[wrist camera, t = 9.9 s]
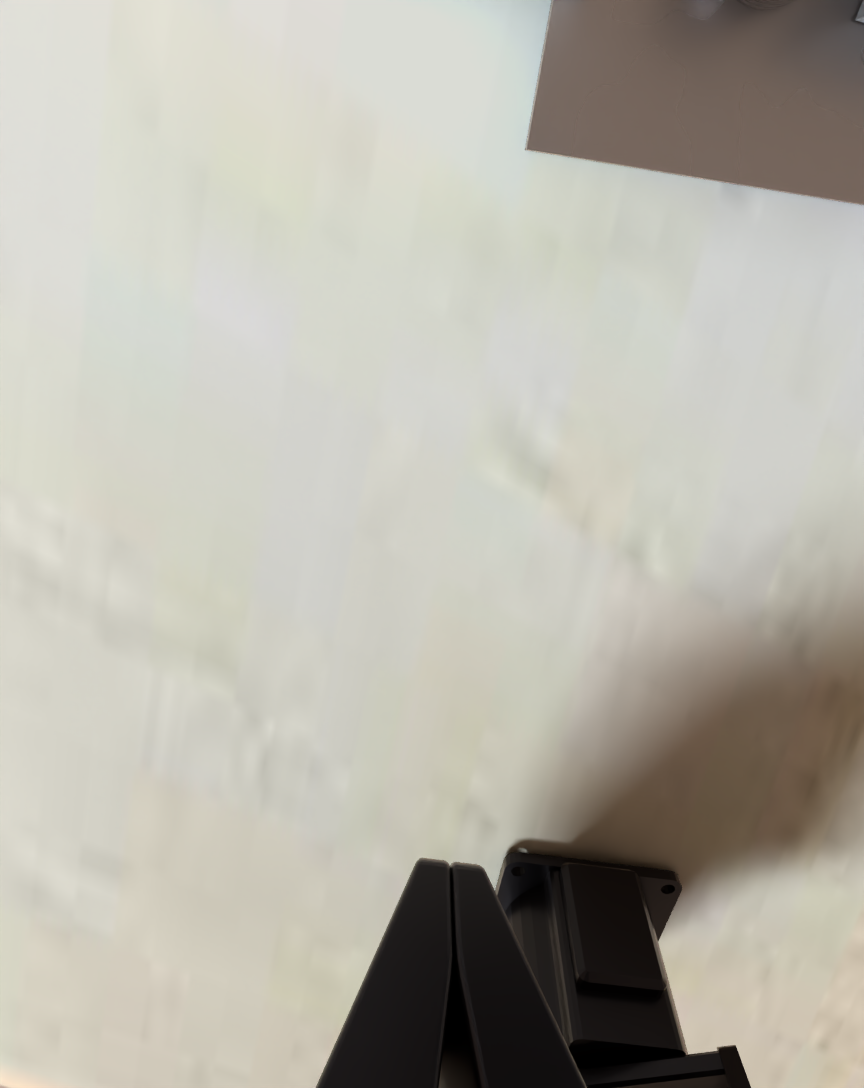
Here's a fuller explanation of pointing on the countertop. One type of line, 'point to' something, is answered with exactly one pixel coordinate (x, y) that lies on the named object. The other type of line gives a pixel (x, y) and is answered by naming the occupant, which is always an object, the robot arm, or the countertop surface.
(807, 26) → the peg on base plate
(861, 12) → the gate
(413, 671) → the countertop surface
